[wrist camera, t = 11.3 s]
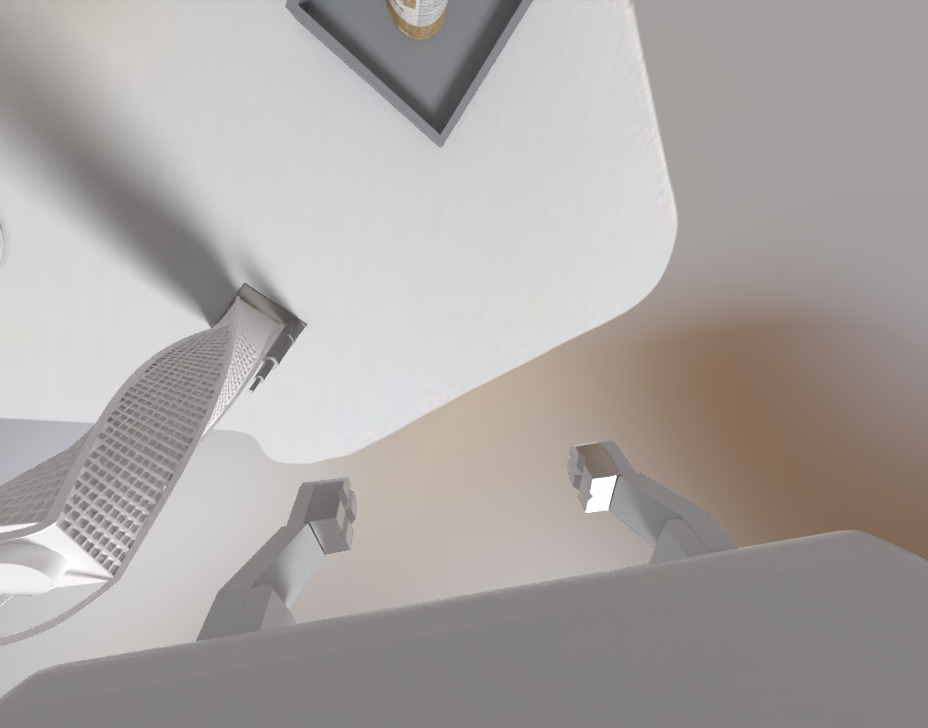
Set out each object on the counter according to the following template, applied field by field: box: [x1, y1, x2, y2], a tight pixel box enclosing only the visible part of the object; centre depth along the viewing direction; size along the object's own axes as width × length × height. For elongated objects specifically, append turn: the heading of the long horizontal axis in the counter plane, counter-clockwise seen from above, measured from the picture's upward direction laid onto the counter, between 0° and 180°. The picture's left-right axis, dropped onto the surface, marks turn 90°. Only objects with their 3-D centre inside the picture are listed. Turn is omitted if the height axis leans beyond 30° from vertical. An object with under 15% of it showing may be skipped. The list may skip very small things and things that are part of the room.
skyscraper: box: [0, 284, 307, 646], centre depth 26 cm, size 8×8×28 cm
